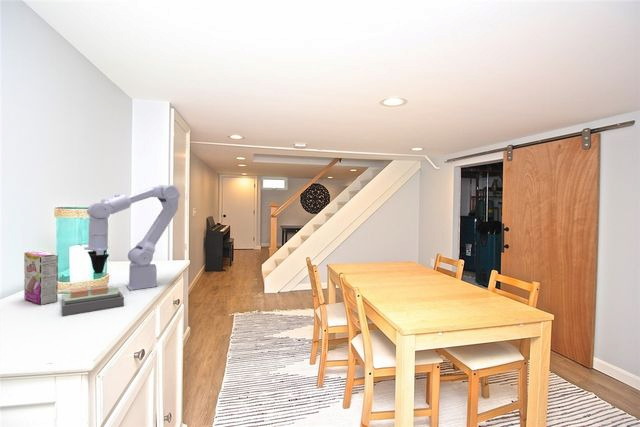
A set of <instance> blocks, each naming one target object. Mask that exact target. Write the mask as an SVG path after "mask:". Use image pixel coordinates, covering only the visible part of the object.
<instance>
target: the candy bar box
mask: <svg viewBox="0 0 640 427" xmlns="http://www.w3.org/2000/svg"><path fill="white" fill-rule="evenodd" d="M23 256H24V259H23V260H24V262H23V263H24V264H23V266H24V267H23V269H24V272H23V273H24V280H23V281H24V282H23V284H24V287H23V288H24V290H23V292H24V295H23V296H24V297H23V299H24V300H25V301H28V302H31V303H34V304H36V305H39V306H43V305H47V304H48V305H49V304H52V303H55V302H57V303H58V292H59V291H58V288H59V286H58V285H59V284H58V272H59V269H58V267H59V266H58V264H59V259H58V257H59V254H57V253H53V252H49V251H43V250H36V251H33V250H32V251H26V252H24V254H23Z"/></svg>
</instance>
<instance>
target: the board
mask: <svg viewBox="0 0 640 427" xmlns="http://www.w3.org/2000/svg"><path fill="white" fill-rule="evenodd" d="M119 291H120V292H121V290H120V289H119V287H112V288H108V293H107V294H99V295H91V290H88V296H85V297H78V298H71V296H70V293H65V294H61V300H62V299H64V300H65V303H69V302H76V301H83V300H90V299H97V298H103V297H110V296H117V295H118V292H119Z"/></svg>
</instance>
